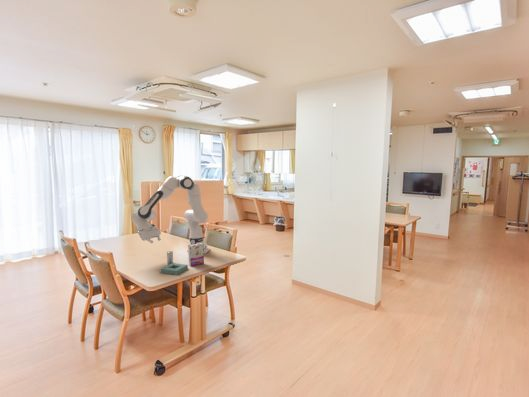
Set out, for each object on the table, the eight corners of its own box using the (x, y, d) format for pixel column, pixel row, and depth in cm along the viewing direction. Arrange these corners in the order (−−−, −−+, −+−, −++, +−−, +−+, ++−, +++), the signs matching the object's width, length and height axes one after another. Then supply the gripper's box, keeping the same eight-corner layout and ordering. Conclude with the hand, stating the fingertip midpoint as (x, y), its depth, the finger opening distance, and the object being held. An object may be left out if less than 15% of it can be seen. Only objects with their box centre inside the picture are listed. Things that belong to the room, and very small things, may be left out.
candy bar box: (201, 262, 243) (201, 242, 241) (204, 264, 239) (203, 244, 237) (188, 264, 237) (187, 244, 235) (190, 266, 232) (190, 246, 231)
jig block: (171, 266, 232) (171, 263, 231) (187, 268, 228) (187, 264, 227) (160, 272, 218) (160, 268, 218) (177, 274, 214) (177, 270, 214)
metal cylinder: (169, 263, 241) (169, 251, 240) (174, 263, 239) (173, 251, 238) (166, 264, 236) (165, 252, 235) (170, 265, 235) (170, 252, 234)
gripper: (139, 228, 231) (150, 241, 229) (155, 224, 250) (166, 236, 248) (134, 233, 232) (145, 247, 231) (151, 228, 252) (161, 241, 250)
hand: (156, 241), depth 240 cm, fingers open, 8 cm apart
